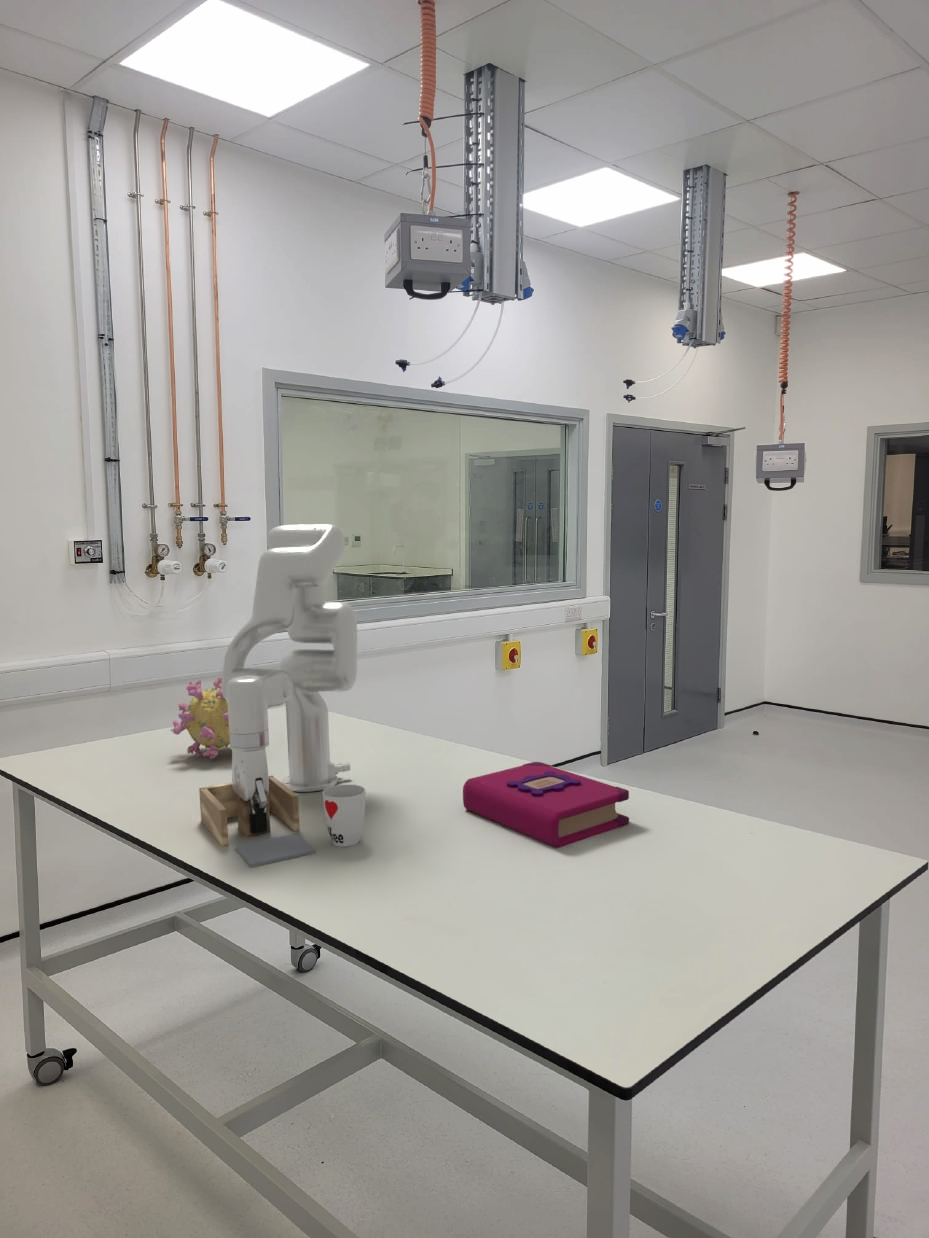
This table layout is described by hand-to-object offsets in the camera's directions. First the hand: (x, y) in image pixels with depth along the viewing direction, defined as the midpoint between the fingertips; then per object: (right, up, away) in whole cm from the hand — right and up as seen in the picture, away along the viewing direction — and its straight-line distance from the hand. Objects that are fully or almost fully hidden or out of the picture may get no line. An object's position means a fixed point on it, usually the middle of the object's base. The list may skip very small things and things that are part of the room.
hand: (254, 826), depth 173 cm
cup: (+19, -1, -7) cm, 21 cm away
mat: (+7, -2, -11) cm, 13 cm away
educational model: (-23, +5, +56) cm, 61 cm away
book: (+58, 0, +4) cm, 59 cm away
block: (0, -1, 0) cm, 1 cm away
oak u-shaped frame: (-2, 0, +3) cm, 3 cm away
